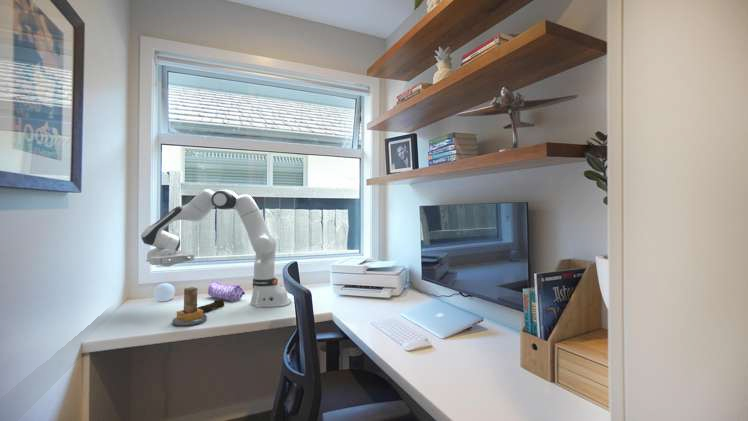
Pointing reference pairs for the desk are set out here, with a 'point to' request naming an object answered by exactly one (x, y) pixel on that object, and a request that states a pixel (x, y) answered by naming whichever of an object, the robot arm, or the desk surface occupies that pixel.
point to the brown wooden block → (190, 300)
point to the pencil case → (225, 291)
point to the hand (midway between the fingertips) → (179, 260)
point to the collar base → (189, 318)
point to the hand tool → (212, 305)
